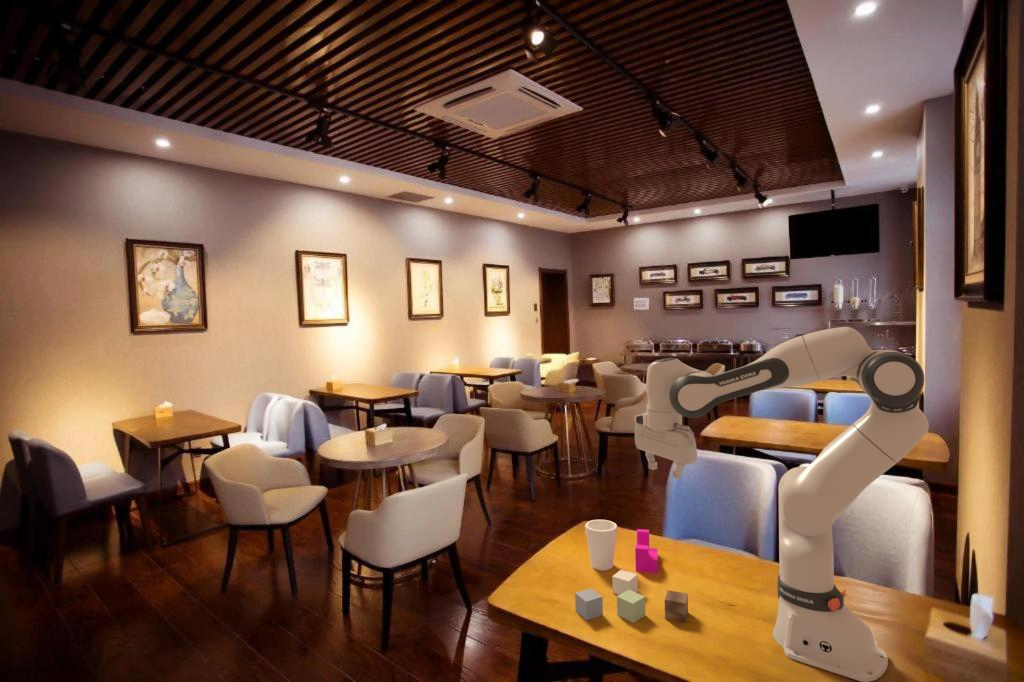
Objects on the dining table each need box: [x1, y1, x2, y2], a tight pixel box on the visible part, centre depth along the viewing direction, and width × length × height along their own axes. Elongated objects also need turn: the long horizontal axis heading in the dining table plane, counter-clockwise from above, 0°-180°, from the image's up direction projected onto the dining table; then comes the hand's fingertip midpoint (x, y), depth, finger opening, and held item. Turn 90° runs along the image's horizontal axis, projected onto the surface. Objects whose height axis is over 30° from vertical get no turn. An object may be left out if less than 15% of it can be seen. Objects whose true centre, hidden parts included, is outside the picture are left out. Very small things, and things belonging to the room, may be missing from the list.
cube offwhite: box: [611, 569, 639, 596], centre depth 149 cm, size 5×5×5 cm
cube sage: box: [616, 590, 646, 624], centre depth 138 cm, size 5×5×5 cm
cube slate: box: [574, 588, 604, 621], centre depth 139 cm, size 5×5×5 cm
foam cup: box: [584, 519, 618, 572], centre depth 164 cm, size 10×9×13 cm
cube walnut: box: [664, 589, 689, 624], centre depth 137 cm, size 5×5×5 cm
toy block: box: [634, 528, 659, 574], centre depth 167 cm, size 15×6×8 cm, turn 165°
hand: (664, 473), depth 141 cm, fingers open, 8 cm apart
